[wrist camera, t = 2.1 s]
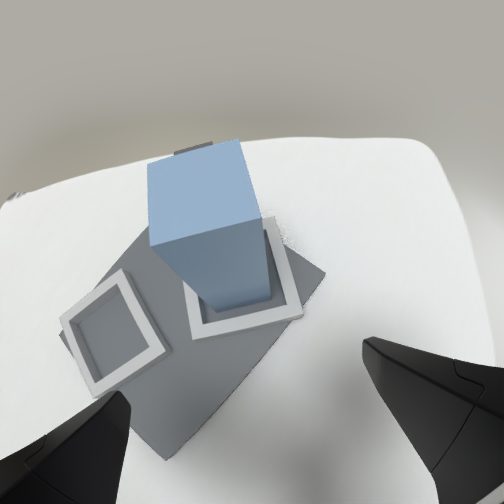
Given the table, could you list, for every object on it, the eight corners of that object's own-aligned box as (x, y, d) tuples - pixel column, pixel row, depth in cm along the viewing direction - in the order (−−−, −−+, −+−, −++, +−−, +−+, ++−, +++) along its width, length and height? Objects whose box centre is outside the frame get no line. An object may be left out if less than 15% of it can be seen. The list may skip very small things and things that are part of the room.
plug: (271, 299, 23) (261, 217, 11) (216, 313, 23) (150, 246, 11) (256, 242, 25) (235, 128, 13) (205, 254, 25) (147, 152, 13)
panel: (173, 463, 18) (163, 471, 16) (63, 337, 24) (48, 333, 21) (336, 271, 24) (341, 260, 22) (199, 181, 29) (193, 166, 27)
